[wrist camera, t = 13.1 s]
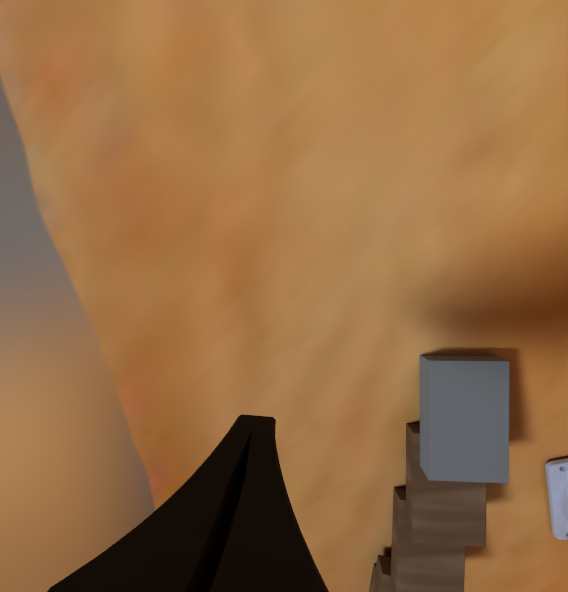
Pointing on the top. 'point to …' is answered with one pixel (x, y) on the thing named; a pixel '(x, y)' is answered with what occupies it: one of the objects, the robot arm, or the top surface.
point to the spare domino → (464, 418)
